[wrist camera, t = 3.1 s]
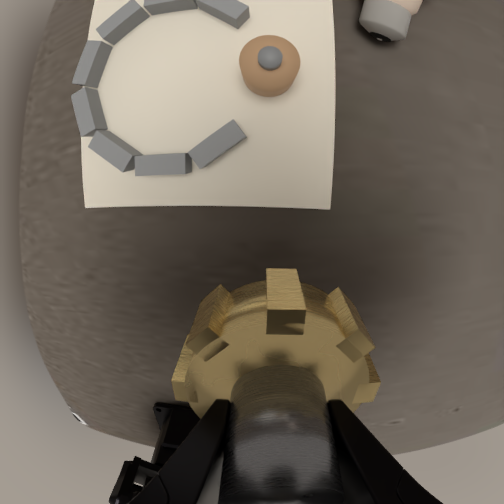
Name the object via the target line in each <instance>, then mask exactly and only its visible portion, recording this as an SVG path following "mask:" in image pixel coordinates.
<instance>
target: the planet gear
mask: <svg viewBox="0 0 504 504" xmlns="http://www.w3.org/2000/svg"><path fill="white" fill-rule="evenodd" d="M374 348H375V346H374V344H373V342H372V340H371V337H370V335H369V333H368V331H367V329H366V327H365V325H364V323H363V321H362V319H361V317H360V315H359V313H358V311H357V309H356V307H355V306H354V304H353V303H352V302H351V300H350V299H349V298H348V297H347V296H346V295H345V294H344V293H343V291H342V290H341V289H340V288H339V287H337V288H336V289H335V290H334V291H332V292H331V293H330V294H329V295H328V294H327V293H325V292H324V291H322V290H320V289H318V288H316V287H314V286H312V285H309V284H306V283H302V282H299V278H298V274H297V270H296V269H278V268H266V280H265V281H258V282H254V283H250V284H247V285H244V286H242V287H239V288H237V289H235V290H233V291H231V292H229V291H227V290H226V289H225V288H224V287H223V286H222V285H221V284H220V285H219V286H217V287H216V288H215V289H214V290H213V291H212V292H211V293H210V294H208V295H207V296H206V297H205V298H204V299H203V300H202V301H201V303H200V306H199V308H198V311H197V314H196V317H195V319H194V322H193V325H192V328H191V330H190V333H189V334H188V335H187V338H186V340H185V343H184V346H183V349H182V351H181V354H180V357H179V360H178V363H177V365H176V368H175V371H174V374H173V377H172V380H171V382H172V386H173V391H174V395H175V399H176V400H178V401H186V402H189V404H190V406H191V408H192V409H193V411H194V412H195V413H196V414H197V416H198V417H199V418H200V419H201V418H202V417H203V415H204V414H205V413H206V411H207V410H208V409H209V407H210V406H211V405H212V403H213V402H214V401H215V400H216V399H228V400H229V401H230V407H229V415H228V423H227V432H226V439H225V447H224V456H223V464H222V473H221V481H220V489H219V498H218V504H343V502H344V500H345V497H344V491H343V485H342V479H341V473H340V468H339V462H338V456H337V451H336V445H335V440H334V435H333V430H332V424H331V419H330V414H329V409H328V404H327V402H328V400H331V399H341V400H342V401H343V402H344V403H345V404H346V405H347V406H348V408H349V409H350V410H351V411H352V412H353V413H354V412H355V411H356V409H357V408H358V407H359V406H360V404H361V403H364V402H373V400H374V398H375V396H376V393H377V391H378V388H379V386H380V383H381V381H380V379H379V376H378V374H377V372H376V369H375V367H374V365H373V362H372V360H371V358H370V355H369V352H370V351H372V350H373V349H374Z"/></svg>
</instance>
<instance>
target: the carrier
mask: <svg viewBox="0 0 504 504" xmlns="http://www.w3.org/2000/svg"><path fill="white" fill-rule="evenodd" d="M72 83H73V84H77V85H81V86H83V88H82V89H80V90H79V91H77V92H76V93H74V94H73V95H71V98H72V103H73V107H74V111H75V115H76V119H77V123H78V127H79V131H80V134H81V151H82V175H83V189H84V201H85V208H96V207H127V206H251V207H284V208H308V209H328V210H330V205H331V192H332V177H333V159H334V135H335V44H334V22H333V6H332V0H95V3H94V7H93V12H92V17H91V23H90V29H89V35H88V41H87V43H86V45H85V48H84V50H83V53H82V56H81V58H80V61H79V64H78V66H77V69H76V72H75V75H74V78H73V81H72Z"/></svg>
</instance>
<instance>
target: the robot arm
mask: <svg viewBox="0 0 504 504" xmlns="http://www.w3.org/2000/svg"><path fill="white" fill-rule="evenodd" d="M327 404H328V409H329V414H330V419H331V424H332V430H333V435H334V440H335V445H336V451H337V456H338V462H339V468H340V473H341V479H342V485H343V491H344V497H345V500H344V502H343V504H443V503H442V502H440V501H439V500H438V499H436V498H435V497H434V496H433V495H431V494H430V493H429V492H428V491H427V490H425V489H424V488H423V487H422V486H421V485H420V484H419V483H418V482H417V481H416V480H415V479H414V478H413V477H412V476H411V475H410V474H409V473H408V472H407V471H406V470H405V469H403V467H402V466H401V465H400V464H399V463H398V462H397V461H396V459H395V458H394V457H393V456H392V455H391V454H390V453H389V452H388V451H387V450H386V449H385V448H384V446H383V445H382V444H381V443H380V442H379V441H378V440H377V439H376V438H375V437H374V435H373V434H372V433H371V432H370V431H369V430H368V429H367V428H366V427H365V425H364V424H363V423H362V422H361V421H360V420H359V419H358V418H357V417H356V415H355V414H354V413H353V412H352V411H351V410H350V409H349V408H348V406H347V405H346V404H345V403H344V402H343V401H342V400H341V399H331V400H328V402H327ZM229 407H230V401H229V400H228V399H216V400H215V401H214V402H213V403H212V405H211V406H210V407H209V409H208V410H207V411H206V413H205V414H204V415H203V417H202V418H201V419H200V418H199V417H198V416H197V414H196V413H195V412H194V411H193V409H192V408H190V407H182V406H174V405H167V404H160V403H156V404H155V405H154V407H153V410H154V413H155V416H156V419H157V422H158V424H159V427H160V434H159V437H158V440H157V443H156V447H155V450H154V454H153V457H152V460H151V463H150V462H147V461H144V460H142V459H141V458H139V457H136V456H135V458H134V460H133V461H124V464H123V467H122V470H121V472H120V475H119V477H118V480H117V482H116V484H115V486H114V489H113V491H112V493H111V496H110V498H109V503H110V504H218V498H219V489H220V481H221V473H222V464H223V456H224V447H225V439H226V432H227V423H228V415H229ZM134 482H136V483H139V484H142V485H143V487H142V486H139V485H136V484H134Z"/></svg>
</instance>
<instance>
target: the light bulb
mask: <svg viewBox="0 0 504 504" xmlns="http://www.w3.org/2000/svg"><path fill="white" fill-rule="evenodd" d="M422 1H423V0H364V3H363V7H362V11H361V14H360V18H359V22H360V24H361V25H362V26H363V27H364V28H365V29H366V30H367V31H368V32H369V33H370V34H371V35H372V36H373V37H375V38H377V39H378V40H380V41H388V42H390V41H396V40H404V39H405V38H406V35H407V31H408V27H409V24H410V20H411V15H413V14H416V13H417V12H418V10H419V8H420V5H421V3H422Z"/></svg>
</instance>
